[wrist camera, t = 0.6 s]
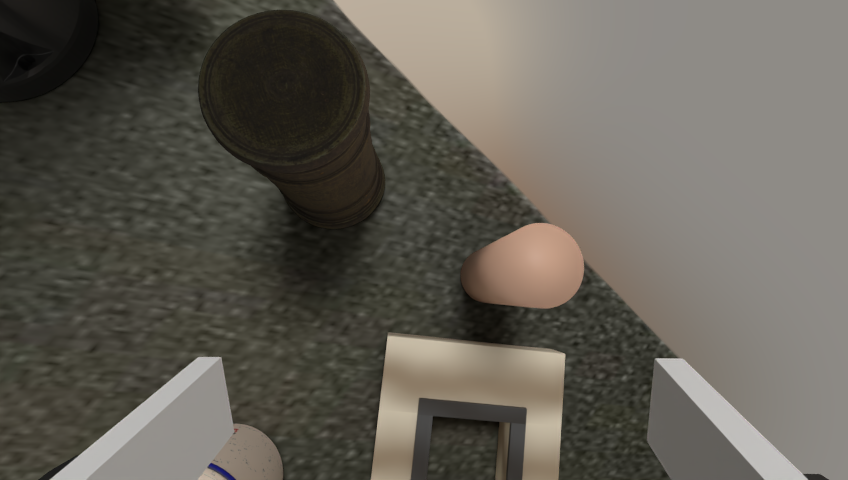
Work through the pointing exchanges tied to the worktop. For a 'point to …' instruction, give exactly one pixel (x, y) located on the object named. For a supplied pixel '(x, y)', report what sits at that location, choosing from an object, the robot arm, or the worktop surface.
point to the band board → (469, 403)
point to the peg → (525, 268)
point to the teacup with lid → (246, 458)
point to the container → (296, 113)
